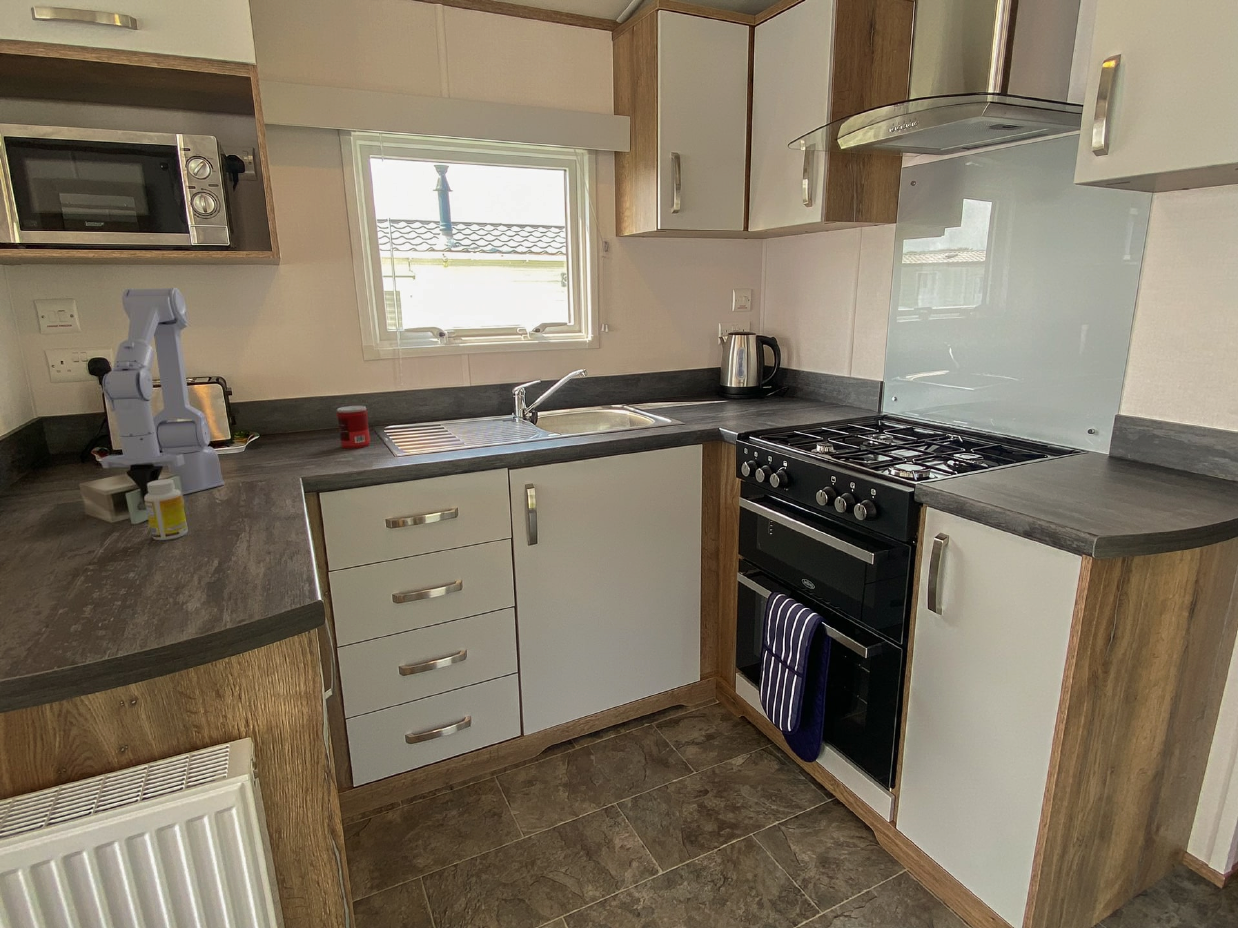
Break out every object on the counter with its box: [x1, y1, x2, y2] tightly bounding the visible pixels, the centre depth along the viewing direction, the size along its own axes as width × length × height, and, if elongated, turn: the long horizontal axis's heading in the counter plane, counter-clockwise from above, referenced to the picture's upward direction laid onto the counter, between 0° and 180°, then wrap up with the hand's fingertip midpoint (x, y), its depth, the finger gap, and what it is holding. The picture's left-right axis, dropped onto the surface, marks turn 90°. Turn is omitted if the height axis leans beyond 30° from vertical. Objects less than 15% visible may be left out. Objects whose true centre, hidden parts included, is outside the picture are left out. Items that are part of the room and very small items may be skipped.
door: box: [126, 476, 185, 525], centre depth 136 cm, size 12×2×6 cm, turn 172°
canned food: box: [336, 405, 371, 450], centre depth 194 cm, size 8×8×11 cm
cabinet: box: [79, 471, 177, 523], centre depth 140 cm, size 13×11×6 cm
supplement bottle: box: [144, 479, 189, 541], centre depth 123 cm, size 6×6×10 cm
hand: (151, 502), depth 133 cm, fingers closed, pressing on door
